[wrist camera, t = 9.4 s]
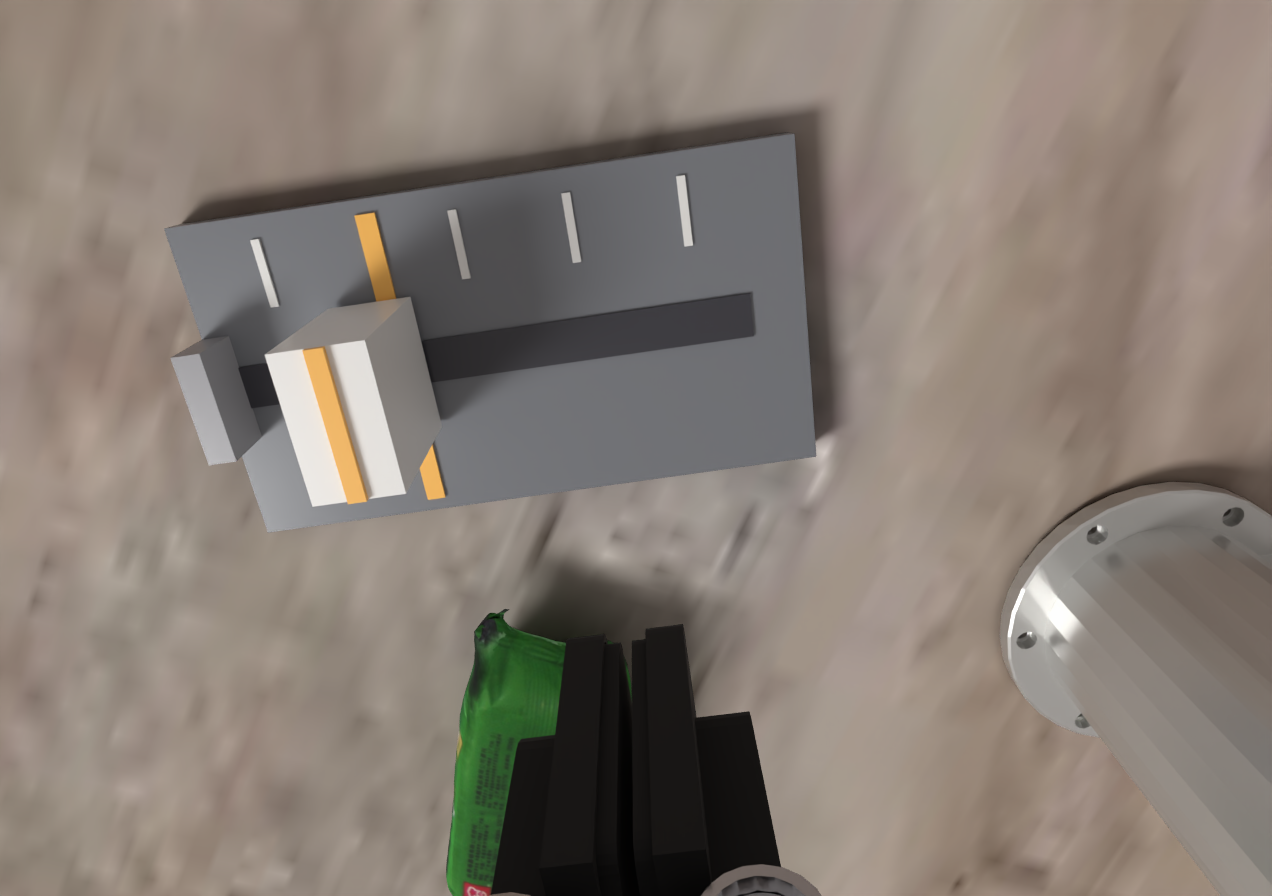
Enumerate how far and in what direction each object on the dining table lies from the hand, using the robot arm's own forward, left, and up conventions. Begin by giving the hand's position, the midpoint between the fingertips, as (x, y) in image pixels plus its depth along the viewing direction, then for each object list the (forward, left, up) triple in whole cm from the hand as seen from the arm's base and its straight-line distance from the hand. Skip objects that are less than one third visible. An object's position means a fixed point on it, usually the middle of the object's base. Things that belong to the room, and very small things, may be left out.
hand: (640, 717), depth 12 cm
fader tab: (+9, 0, -21) cm, 23 cm away
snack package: (+7, +18, -23) cm, 30 cm away
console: (+4, 0, -22) cm, 23 cm away
